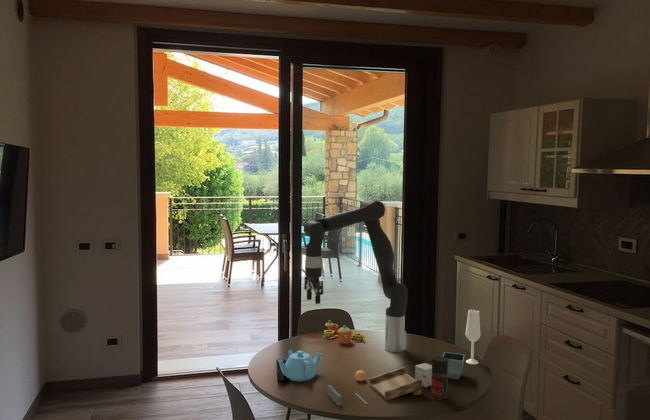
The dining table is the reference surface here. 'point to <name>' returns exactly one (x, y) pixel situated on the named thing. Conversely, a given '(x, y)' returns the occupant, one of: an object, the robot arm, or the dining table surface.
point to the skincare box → (424, 373)
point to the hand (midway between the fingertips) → (313, 301)
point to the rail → (334, 395)
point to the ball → (360, 375)
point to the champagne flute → (473, 332)
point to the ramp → (395, 384)
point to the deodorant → (439, 377)
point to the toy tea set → (341, 334)
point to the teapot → (300, 366)
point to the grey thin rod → (361, 398)
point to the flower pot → (454, 364)
